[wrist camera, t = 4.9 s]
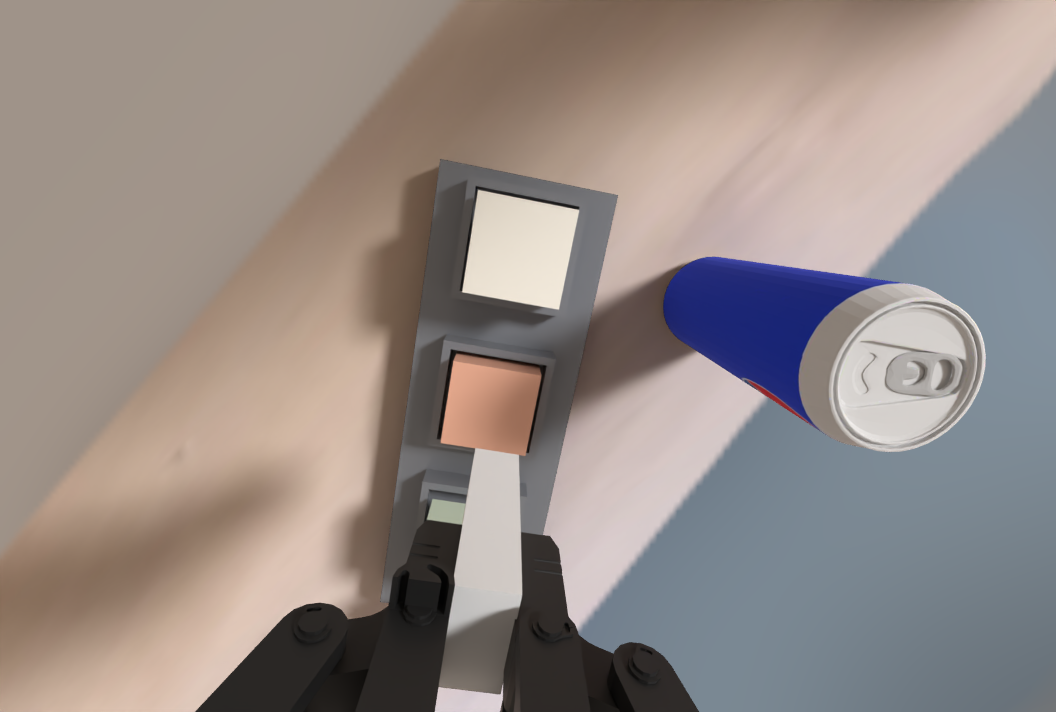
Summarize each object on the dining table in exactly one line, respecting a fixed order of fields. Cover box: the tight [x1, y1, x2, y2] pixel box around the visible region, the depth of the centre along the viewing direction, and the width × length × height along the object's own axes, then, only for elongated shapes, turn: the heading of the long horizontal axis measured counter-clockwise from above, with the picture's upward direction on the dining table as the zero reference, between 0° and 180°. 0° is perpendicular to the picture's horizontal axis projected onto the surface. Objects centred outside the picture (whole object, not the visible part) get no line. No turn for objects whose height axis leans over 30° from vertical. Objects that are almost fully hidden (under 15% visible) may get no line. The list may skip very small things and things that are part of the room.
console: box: [380, 159, 618, 603], centre depth 26 cm, size 26×9×7 cm, turn 170°
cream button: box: [462, 190, 579, 310], centre depth 23 cm, size 4×4×2 cm
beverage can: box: [663, 257, 986, 452], centre depth 21 cm, size 5×5×15 cm
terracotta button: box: [441, 351, 541, 456], centre depth 26 cm, size 4×4×2 cm
